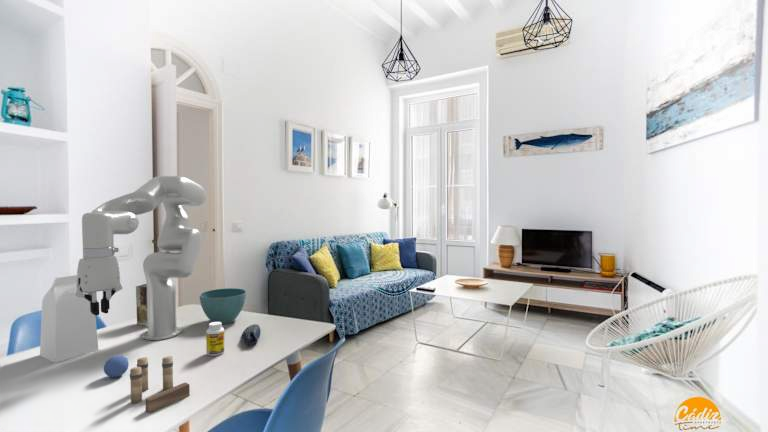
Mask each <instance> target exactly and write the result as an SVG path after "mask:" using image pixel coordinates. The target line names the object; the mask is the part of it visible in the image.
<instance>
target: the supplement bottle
mask: <svg viewBox="0 0 768 432" xmlns="http://www.w3.org/2000/svg"><path fill="white" fill-rule="evenodd" d="M205 333H206V336H205V337H206V339H205V341H206V342H205V343H206V355H207V356H210V357H214V356H220V355H222V354H224V352H225V328H224V327H223V324H222V323H221V322H212V321H211V322H210V323H209V324H208V328H207V329H206V332H205Z"/></svg>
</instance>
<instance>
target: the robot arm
mask: <svg viewBox="0 0 768 432" xmlns="http://www.w3.org/2000/svg"><path fill="white" fill-rule="evenodd" d="M206 193H207V192H206V191H205V189H204V187H203V186H202V185H200V184H199V183H197V182H195V181H193V180H191V179H189V178H187V177H185V176H181V175H158V176H155V177H152V178H151V179H149V180H148V181H147V182H146V183H144V184H142V185H141V186H139V187H138V188H137V189H136V190H135V191H132V192H129V193H125V194H123V195H122V196H117V197H115V198H113V199H110V200H108V201H106V202H103V203H102V204H100V205H99V206H97V207H95V209H94V210H92V211H91V212H86V213H83V214H82V216H81V231H82V232H81V233H82V234H81V235H82V237H81V239H82V258H79V261H78V264H77V270H76V271H77V272H76V275H77V279H76V288H77V291H76V293H75V296H76V297H80V298H85V299H87V300H88V301H90V311H91V313H92V314H93V315H95V316H99V315H100V312H101V313H104V314H108V313H109V310H110V309H111V308H110V300H111V299H112V297H113V296H114V295H115V293H117V292H120V291H121V290H122V289H123V286H122V284H121V273H120V267H119V262H118V259H117V256H116V254H115V253H118V252H119V247H115V244H114V242H115V241H114V235H129V234H131V233H133V232H134V233H135V231H136V230H137V228H138V227H139V223H140V221H139V218H138V216H139V215H143V214H147V213H150V212H152V211H154V210H155V209H156V208H157V207H158V206H160V205H161V204H162V205H163V207H164V210H165V220H164V223H163V225H162V227H161V230H160V232H159V235H158V237H157V242H156V243H157V244H156V245H157V248H158V249H159V250H161V251H158V252H152V253H150V254H148V255H147V256H146V257H145V258H144V259H143V263H142V267H143V273H144V277H145V280H146V281H145V282H146V283H145V284H147V317H148V323H147V324H146V325H145V327H147V330H146V331H145V332H144V333H143V334H142V337H143V339H145V340H147V341H161V340H165V339H166V340H167V339H170V338H173V337H174V338H175V337H176V336H179V335H180V334H181V332H182V329H181V328H180V327H178V326H177V288H176V285H175V283H174V282H175V281H174V280H173V279H175V278H176V279H182V278H183V279H184V278H188V277H189V276H191V275H192V274H193V272H194V270H195V267H196V264H197V262H198V261H197V260H198V258H199V254H200V253H201V252H200V251H201V248H202V244H203V237H202V233H201V231H200V230H198V229H197V228H194V227H188V226H189V223H190V217H189V216H188V213H187V212H186V211H185V210H184V209H185V208H183V207H198V206H201V205H203V204H204V203H205V201H206V197H207V195H206ZM101 291H102V298H101V300H100V302H99V301H98V298H97V297H98V295H97V292H101ZM83 292H84V293H88V294H84V293H83Z"/></svg>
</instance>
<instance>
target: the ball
mask: <svg viewBox="0 0 768 432" xmlns="http://www.w3.org/2000/svg"><path fill="white" fill-rule="evenodd" d="M129 364H130V363H129V360H128V358H127V357H125V356H124V355H113V356H111V357H110V358H108V359H107V360H106V361H105V362H104V365H103V373H104V374H105V375H106V376H107V377H108V378H109V377H110V378H118V377H121V376H122V375H125V373H126V372H127V371H128V368H129V366H130V365H129Z"/></svg>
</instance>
